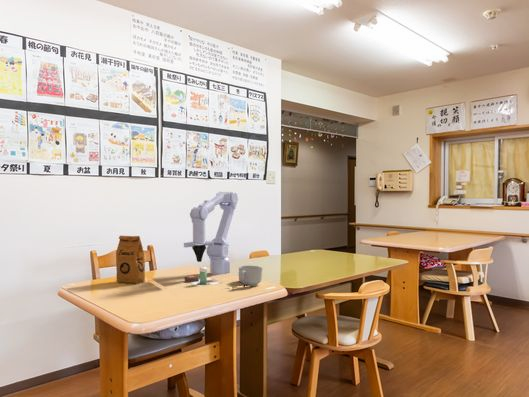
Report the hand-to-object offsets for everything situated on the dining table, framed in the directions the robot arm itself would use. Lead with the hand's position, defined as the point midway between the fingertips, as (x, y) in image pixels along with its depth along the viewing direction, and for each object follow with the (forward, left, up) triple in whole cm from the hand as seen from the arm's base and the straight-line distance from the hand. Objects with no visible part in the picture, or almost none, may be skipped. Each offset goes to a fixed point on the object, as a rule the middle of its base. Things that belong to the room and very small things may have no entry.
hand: (199, 261), depth 183 cm
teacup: (-15, +20, -10) cm, 27 cm away
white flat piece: (+1, +7, -9) cm, 12 cm away
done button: (+5, +3, -8) cm, 10 cm away
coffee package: (+27, -17, -10) cm, 33 cm away
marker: (+3, +11, -8) cm, 14 cm away
